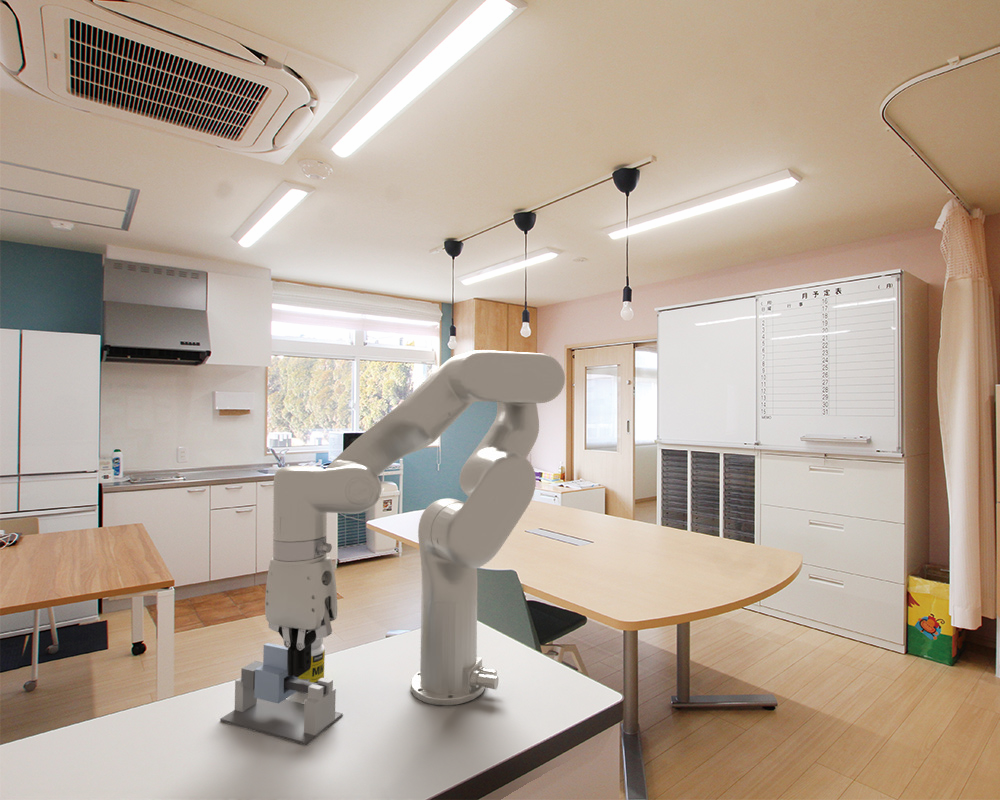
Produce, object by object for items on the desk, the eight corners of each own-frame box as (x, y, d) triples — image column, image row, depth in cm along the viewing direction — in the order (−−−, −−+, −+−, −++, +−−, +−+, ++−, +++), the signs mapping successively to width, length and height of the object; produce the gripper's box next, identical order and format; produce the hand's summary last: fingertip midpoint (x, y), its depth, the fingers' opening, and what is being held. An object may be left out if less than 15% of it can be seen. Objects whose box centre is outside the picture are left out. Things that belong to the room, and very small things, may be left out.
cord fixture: (342, 716, 82) (343, 670, 82) (306, 745, 75) (307, 694, 75) (261, 695, 88) (262, 652, 88) (220, 721, 80) (221, 674, 81)
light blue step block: (297, 690, 83) (298, 643, 83) (278, 703, 79) (279, 653, 79) (274, 685, 85) (275, 638, 85) (254, 697, 81) (255, 648, 81)
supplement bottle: (314, 694, 88) (315, 642, 89) (288, 691, 89) (289, 640, 90) (329, 681, 93) (330, 631, 93) (304, 678, 94) (305, 629, 94)
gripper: (357, 546, 82) (356, 668, 81) (278, 539, 87) (277, 654, 86) (325, 559, 75) (325, 693, 74) (241, 550, 80) (240, 676, 79)
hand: (299, 672), depth 80 cm, fingers closed
